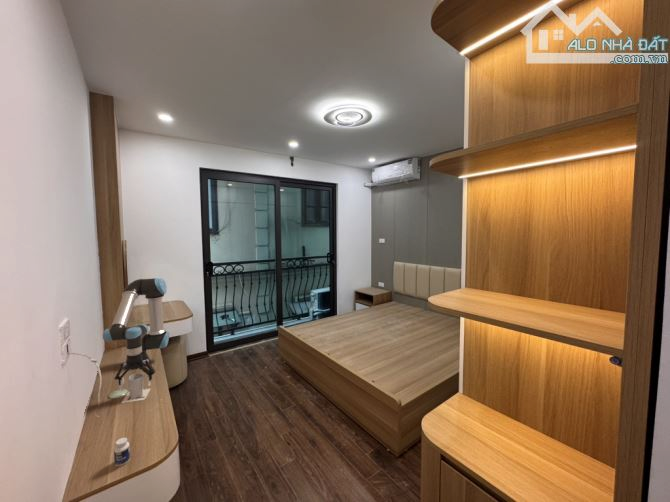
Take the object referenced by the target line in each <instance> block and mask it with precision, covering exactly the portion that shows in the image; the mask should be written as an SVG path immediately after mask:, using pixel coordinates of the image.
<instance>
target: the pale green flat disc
mask: <svg viewBox="0 0 670 502" xmlns="http://www.w3.org/2000/svg"><path fill="white" fill-rule="evenodd" d="M128 390H129V389H126V388H124V389H123V391H121V388H120V389H117V390H114V391H112V392H110V393H109V394H108V398H109V399H112V400H113V399H118V398H122V397H123V396H126V395H127V393H128V392H129V391H128Z"/></svg>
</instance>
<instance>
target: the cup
mask: <svg viewBox="0 0 670 502" xmlns="http://www.w3.org/2000/svg"><path fill="white" fill-rule="evenodd" d="M144 376H145V375H144V373H143V372H138V373H134V374H133V373H132V374H130V375H129V376H128V377H127V385H128V390H129V391H128V392H130V398H138V397H140V396H142V395H143V389H144Z"/></svg>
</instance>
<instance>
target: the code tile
mask: <svg viewBox="0 0 670 502" xmlns="http://www.w3.org/2000/svg"><path fill="white" fill-rule="evenodd" d="M151 389H152V388H145V389H144V388H143V395H142V396H140V397H138V398H130V391H128V392H127V394H125V395H124V396H125V397H124V398H123V399H122V401H121V403H120V404H124V403H126V404H127V403H130V402H131V403H132V402H137V401H144V400H146V399H147V397H148V395H149V393H150V391H151Z"/></svg>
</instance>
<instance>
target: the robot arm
mask: <svg viewBox="0 0 670 502" xmlns="http://www.w3.org/2000/svg"><path fill="white" fill-rule="evenodd" d="M166 294H167V284H166V281H165V280H164V278H158V277H156V278H139V279H135V280H134V281H131V282H130V283H129V284H127V286H125V288H124V290H122V293H121V297H122V298H121V301H120V304H119V305H118V308H117V310H116V313H115V315H114V319H113V321H112V323H111V325H110V327H109V328H106V329H105V330H104V331H103V333H102V339H103V341H104V342H117V341H124V340H125V346H126V349H125V350H126V359H125V362H124V361H122V363H120V367H119V370H118V371H117V373H116V375H115V377H114V380H118V386H120V389H121V391H123V389H125V378H124V376H125V375H126V374H127V372H129V371H130V370H132V371H133V370H138V369H139V370H141V371H142V372H144V373H145V374H146V375H147V376H146V378H147V387H148V388H149V387H150V386H151V381H152V380H153V375H155V373H156V370H155V369H154V367H153V366H152V364H151V363H150V357H149V355H148V352H147V351H149V350H159V349H165V348H166V347H167V346H168V344H169V339H170V331H167V329H166V328H165V327H164V326H165V325H164V314H163V313H164V312H163V311H164V310H163V309H164V308H163V297H164V296H165V295H166ZM140 296H145V299H146V300H147V301H148V303H147V304H148V305H147V306H148V316H149V317H148V318H149V326H148V325H146V324H145V323H141V324H140V323H139V324H138V325H137V326H127V324H128V322H129V320H130V316H131V313H132V310H133V308H134V305H135V302H136V300H137V299H138V298H139V297H140ZM124 368H125V369H126V370H124V371H123V369H124ZM122 371H123V372H122ZM121 373H122V374H121Z"/></svg>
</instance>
